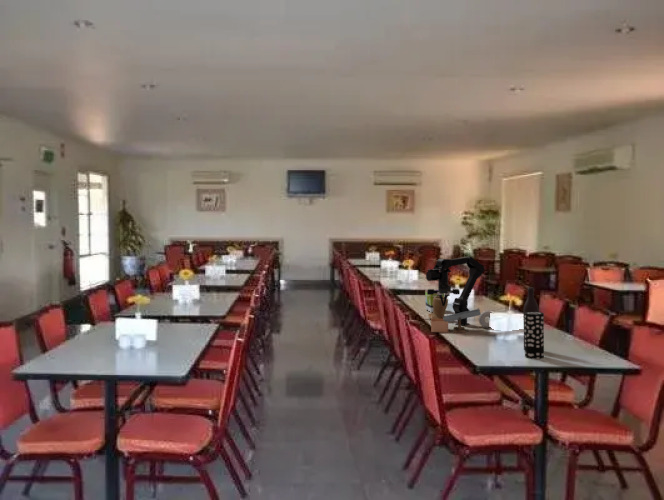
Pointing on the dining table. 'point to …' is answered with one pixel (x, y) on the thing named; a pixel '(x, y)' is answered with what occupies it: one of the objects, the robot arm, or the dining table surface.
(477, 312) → the grey flat piece
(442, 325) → the brown boxy piece
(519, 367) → the dining table surface
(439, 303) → the stone cup
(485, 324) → the donut
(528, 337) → the white-spotted black cylinder
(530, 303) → the wine bottle
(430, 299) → the tea box
